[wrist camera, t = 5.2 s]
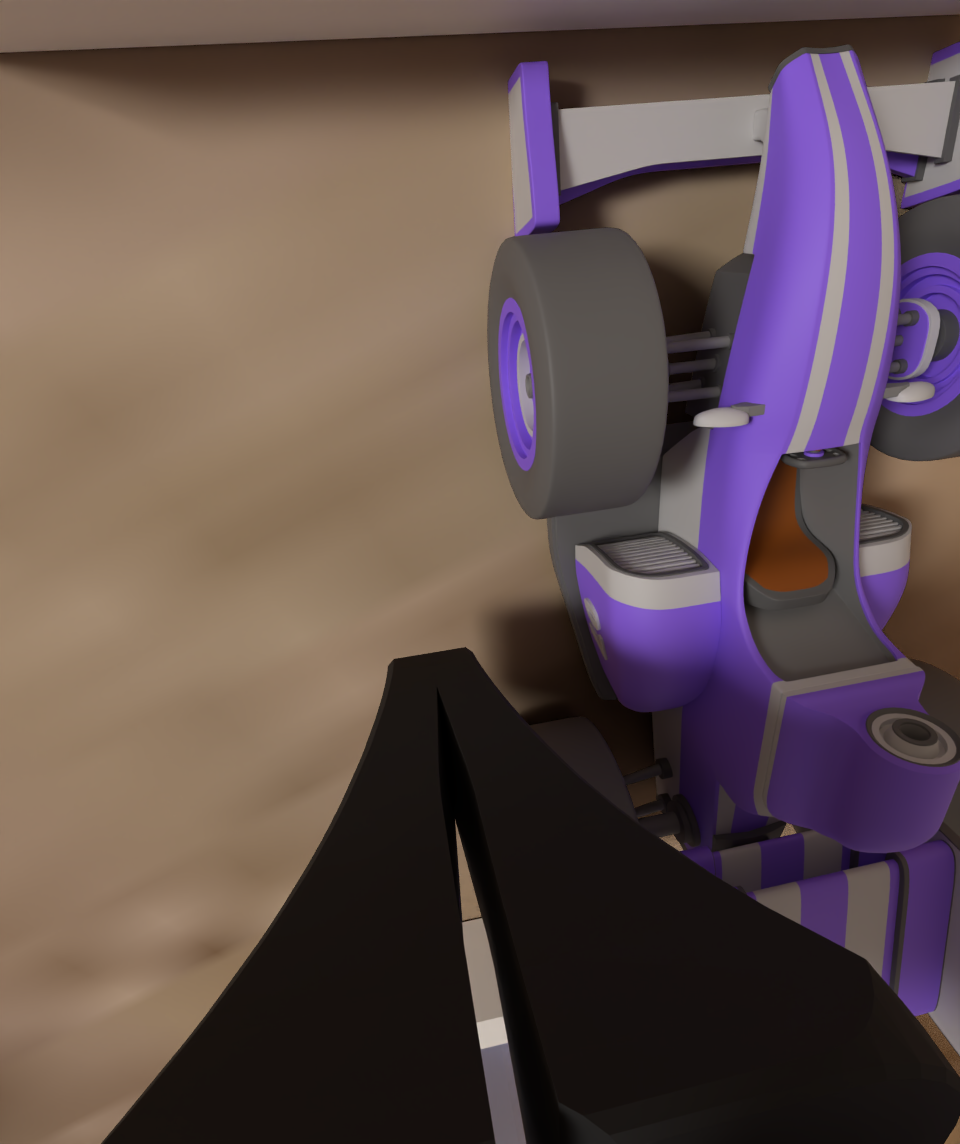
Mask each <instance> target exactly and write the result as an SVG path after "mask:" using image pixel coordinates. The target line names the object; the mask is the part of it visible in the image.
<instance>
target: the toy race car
mask: <svg viewBox="0 0 960 1144" xmlns="http://www.w3.org/2000/svg"><path fill="white" fill-rule="evenodd" d="M768 89H769V91H770V94H765V95H752V96H738V97H725V98H710V99H696V100H682V101H668V102H654V103H640V104H626V105H612V106H598V107H584V108H570V109H558V102H555V103H551V101H550V86H549V70H548V62H547V61H536V62H521V63H520V64H519V65H518V66H517V68H516V69H515V71H514V73H513V74H512V76H511V77H510V79H509V80H508V98H509V118H510V139H511V160H512V180H513V201H514V222H515V236H514V237H510V238H508V239H506V240H505V241H504V242H503V243H502V244H501V246H500V248H499V250H498V252H497V256H496V259H495V262H494V266H493V271H492V276H491V283H490V290H489V301H488V324H487V335H488V362H489V376H490V387H491V396H492V404H493V411H494V418H495V424H496V430H497V435H498V440H499V445H500V449H501V454H502V458H503V462H504V465H505V469H506V472H507V475H508V478H509V481H510V484H511V487H512V489H513V491H514V494H515V496H516V498H517V500H518V502H519V504H520V505H521V507H522V509H523V510H524V511H525V513H526V514H527V515H528V516H529V517H531V518H533V519H545V518H547V527H548V540H549V547H550V553H551V558H552V563H553V567H554V570H555V574H556V577H557V580H558V583H559V586H560V590H561V593H562V596H563V599H564V602H565V605H566V608H567V611H568V614H569V617H570V620H571V624H572V627H573V630H574V633H575V636H576V639H577V642H578V645H579V648H580V651H581V654H582V658H583V661H584V664H585V667H586V670H587V673H588V675H589V678H590V680H591V683H592V685H593V687H594V688H595V690H596V692H597V694H598V695H599V697H600V698H601V699H602V700H616V699H618V700H619V701H620V703H621V704H622V705H624V706H625V707H627V708H629V709H631V710H634V711H637V712H652V720H653V738H654V756H655V765H653V766H650V767H648V768H645V769H642V770H639V771H637V772H634V773H631V774H629V775H626V776H622V773H621V771H620V769H619V766H618V764H617V762H616V760H615V758H614V756H613V754H612V752H611V750H610V748H609V746H608V745H607V743H606V741H605V739H604V738H603V736H602V735H601V733H600V732H599V730H598V729H597V728H596V727H595V725H594V724H593V723H592V722H591V721H590V720H589V719H587V718H585V717H572V718H566V719H561V720H555V721H550V722H545V723H540V724H534V725H529V726H530V727H531V728H532V729H533V730H534V731H535V732H536V733H537V734H538V735H539V736H540V737H541V738H542V739H543V740H544V741H545V742H546V744H547V745H549V746H550V747H551V748H552V749H553V750H554V751H555V752H556V753H557V754H558V755H559V756H560V757H561V758H562V759H563V760H564V761H565V762H566V763H567V764H568V765H569V766H570V767H571V768H572V769H574V770H575V771H576V772H577V773H578V774H579V775H580V776H581V777H582V778H584V779H585V780H586V781H587V782H588V783H589V784H590V785H591V786H593V787H594V788H595V789H596V790H598V791H599V792H600V793H601V794H602V795H604V796H605V797H606V798H607V799H608V800H610V801H611V802H612V803H613V804H614V805H616V806H617V807H618V808H620V809H621V810H622V811H623V812H625V813H626V814H627V815H629V816H630V817H631V818H633V819H634V820H635V821H636V822H638V823H639V824H640V825H642V826H643V827H644V828H646V829H647V830H648V831H650V832H651V833H653V834H654V835H656V836H657V837H663V836H668V835H672V834H674V836H675V837H676V839H677V840H678V841H679V843H680V844H681V846H682V848H683V850H684V851H679V852H681V853H682V854H684V855H685V856H687V857H688V858H690V859H691V860H693V861H694V862H696V863H697V864H698V865H700V866H701V867H703V868H704V869H706V870H707V871H709V872H710V873H712V874H713V875H715V876H716V877H718V878H720V879H721V880H723V881H725V882H726V883H728V884H730V885H731V886H733V887H735V888H736V889H738V890H740V891H741V892H743V893H745V894H746V895H748V896H750V897H751V898H753V899H754V900H756V901H758V902H759V903H761V904H763V905H764V906H766V907H768V908H770V909H772V910H774V911H775V912H777V913H779V914H781V915H783V916H785V917H787V918H789V919H791V920H793V921H795V922H796V923H798V924H800V925H802V926H804V927H806V928H808V929H810V930H812V931H814V932H816V933H817V934H819V935H821V936H823V937H825V938H827V939H829V940H831V941H833V942H835V943H836V944H838V945H840V946H842V947H844V948H846V949H848V950H850V951H852V952H854V953H856V954H857V955H859V956H861V957H863V958H865V959H866V960H867V961H868V962H869V963H870V964H871V966H872V967H873V968H874V969H875V970H876V972H877V973H878V974H879V975H880V976H881V977H882V978H883V980H884V981H885V982H886V983H887V984H888V985H889V986H890V988H891V989H892V990H893V991H894V992H895V993H896V994H897V996H898V997H899V998H900V999H901V1000H902V1001H903V1002H904V1004H905V1005H906V1006H907V1007H908V1009H909V1010H910V1011H911V1012H912V1014H913V1015H914V1016H918V1015H922V1014H925V1013H928V1015H929V1016H930V1017H931V1019H932V1020H933V1021H934V1023H935V1024H936V1025H937V1027H938V1028H939V1029H940V1031H941V1032H942V1034H943V1035H944V1036H945V1038H946V1039H947V1040H948V1042H949V1043H950V1044H951V1046H952V1047H953V1048H954V1050H955V1051H956V1052H957V1054H958V1055H959V1056H960V681H959V680H957V679H956V678H954V677H953V676H951V675H950V674H948V673H946V672H945V671H943V670H941V669H939V668H937V667H935V666H933V665H930V664H927V663H925V662H922V661H919V660H914V659H909V658H907V657H905V656H904V655H903V654H902V653H901V652H900V651H899V650H898V649H897V648H896V647H895V646H894V645H893V644H892V642H891V641H890V640H889V639H888V638H887V637H886V636H885V634H884V633H883V632H882V629H883V628H884V626H885V625H886V623H887V622H888V620H889V619H890V617H891V615H892V614H893V612H894V610H895V608H896V607H897V605H898V603H899V601H900V599H901V596H902V594H903V591H904V589H905V586H906V582H907V578H908V573H909V563H910V548H911V532H912V524H911V522H910V521H909V520H908V519H907V518H905V517H903V516H900V515H898V514H895V513H892V512H890V511H887V510H884V509H881V508H878V507H874V506H870V505H866V504H861V501H862V490H863V482H864V474H865V468H866V462H867V456H868V451H869V447H870V445H871V446H873V447H874V448H876V449H877V450H879V451H881V452H883V453H885V454H887V455H889V456H892V457H895V458H898V459H902V460H909V461H932V460H939V459H946V458H953V457H959V456H960V41H959V42H957V43H955V44H953V45H950V46H948V47H946V48H943V49H941V50H939V51H937V52H934V53H933V56H932V61H931V66H930V70H929V75H928V80H927V82H925V83H921V84H907V85H893V86H879V87H867V86H866V83H865V79H864V76H863V72H862V69H861V65H860V62H859V59H858V57H857V55H856V53H855V51H854V49H853V48H852V46H851V45H843V46H838V47H831V48H809V47H803V48H801V49H799V50H798V51H796V52H794V53H793V54H791V55H790V56H788V57H787V58H786V59H784V60H783V61H782V62H781V63H780V64H779V66H778V67H777V69H776V71H775V73H774V75H773V77H772V80H771V82H770V84H769V86H768ZM752 163H761V164H760V170H759V176H758V181H757V187H756V192H755V197H754V202H753V207H752V212H751V217H750V222H749V226H748V231H747V236H746V240H745V245H744V250H743V252H744V253H742V254H740V255H738V256H737V257H735V258H734V259H732V260H731V261H729V262H728V263H726V264H725V265H724V266H722V267H721V268H720V269H718V270H717V271H716V274H715V277H714V281H713V285H712V289H711V292H710V296H709V300H708V304H707V308H706V312H705V317H704V321H703V326H702V331H701V332H697V333H690V334H682V335H675V336H668V337H666V333H665V326H664V319H663V314H662V309H661V304H660V299H659V295H658V292H657V288H656V285H655V281H654V278H653V275H652V273H651V270H650V267H649V265H648V263H647V261H646V258H645V256H644V254H643V252H642V251H641V249H640V248H639V246H638V245H637V243H636V242H635V241H634V240H633V239H632V238H631V237H630V236H629V235H628V234H627V233H626V232H624V231H622V230H620V229H617V228H595V229H585V230H574V231H564V232H553V231H554V230H555V229H556V228H557V226H558V225H559V223H560V209H559V205H561V204H563V203H565V202H568V201H570V200H572V199H574V198H577V197H579V196H581V195H583V194H586V193H588V192H590V191H592V190H595V189H597V188H599V187H602V186H604V185H606V184H609V183H611V182H613V181H616V180H619V179H622V178H625V177H628V176H632V175H636V174H641V173H648V172H658V171H669V170H681V169H693V168H705V167H717V166H729V165H741V164H752ZM891 173H893V174H896V175H899V176H902V180H901V182H906V185H905V189H904V194H903V199H902V204H901V209H904V208H913V209H911V210H909V211H908V212H906V213H905V214H903V215H902V216H900V217H899V218H898V213H897V205H896V198H895V191H894V186H893V180H892V175H891ZM914 207H915V208H914ZM551 232H553V233H551ZM687 351H697V355H696V360H695V361H687V362H678V363H669V361H668V353H678V352H687ZM689 372H693V374H692V379H691V381H685V382H678V383H671V384H669V376H670V375H672V374H681V373H689ZM678 401H687V403H686V408H685V413H687V414H689V415H691V416H693V417H694V421H691V422H683V423H676V424H668V425H666V421H667V410H668V402H678ZM655 776H656V791H657V794H656V799H657V800H656V801H653V802H650V803H648V804H645V805H642V806H639V807H637V808H634V806H633V802H632V799H631V797H630V794H629V791H628V789H627V786H626V785H628V784H632V783H635V782H638V781H642V780H645V779H648V778H652V777H655ZM657 811H662V813H663V814H658V815H654V816H649V817H644V818H639V819H638V817H641V816H644V815H647V814H651V813H654V812H657ZM786 823H789V824H792V825H793V827H794V829H795V831H796V833H797V834H792V835H788V836H783V837H780V836H781V834H782V832H783V830H784V827H785V825H786Z"/></svg>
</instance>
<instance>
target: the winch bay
mask: <svg viewBox="0 0 960 1144" xmlns="http://www.w3.org/2000/svg"><path fill="white" fill-rule="evenodd" d="M956 14H960V0H0V53H5V52H30V51H55V50H80V49H105V48H130V47H155V46H180V45H205V44H230V43H255V42H280V41H305V40H330V39H355V38H380V37H405V36H430V35H456V34H481V33H506V32H531V31H556V30H581V29H606V28H631V27H656V26H681V25H706V24H731V23H756V22H781V21H806V20H831V19H856V18H881V17H906V16H931V15H956ZM462 925H463V939H464V947H465V954H466V960H467V966H468V973H469V979H470V985H471V992H472V998H473V1004H474V1011H475V1017H476V1023H477V1029H478V1036H479V1042H480V1048H481V1049H484V1048H488V1047H492V1046H497V1045H501V1044H505V1043H508V1040H507V1034H506V1029H505V1024H504V1018H503V1013H502V1007H501V1002H500V996H499V991H498V985H497V980H496V975H495V969H494V964H493V960H492V956H491V951H490V947H489V943H488V938H487V934H486V930H485V927H484V923H483V919H482V918H480V919H475V920H471V921H466V922H462Z"/></svg>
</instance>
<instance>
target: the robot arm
mask: <svg viewBox="0 0 960 1144" xmlns="http://www.w3.org/2000/svg"><path fill="white" fill-rule="evenodd" d="M455 820H456V824H457V827H458V831H459V835H460V838H461V842H462V846H463V850H464V853H465V857H466V861H467V864H468V868H469V872H470V875H471V879H472V883H473V886H474V890H475V894H476V897H477V901H478V905H479V908H480V912H481V916H482V919H483V923H484V927H485V930H486V934H487V938H488V943H489V947H490V951H491V956H492V960H493V964H494V969H495V975H496V980H497V985H498V991H499V996H500V1002H501V1007H502V1013H503V1018H504V1024H505V1029H506V1034H507V1040H508V1043H505V1044H501V1045H497V1046H492V1047H488V1048H484V1049H481V1048H480V1042H479V1036H478V1029H477V1023H476V1017H475V1011H474V1004H473V998H472V992H471V985H470V979H469V973H468V966H467V960H466V954H465V947H464V939H463V925H462V911H461V897H460V883H459V869H458V855H457V841H456V827H455ZM959 1116H960V1077H959V1076H958V1074H957V1073H956V1071H955V1070H954V1069H953V1067H952V1066H951V1065H950V1063H949V1062H948V1060H947V1059H946V1058H945V1056H944V1055H943V1054H942V1052H941V1051H940V1049H939V1048H938V1047H937V1045H936V1044H935V1043H934V1041H933V1040H932V1038H931V1037H930V1036H929V1034H928V1033H927V1032H926V1030H925V1029H924V1027H923V1026H922V1025H921V1024H920V1022H919V1021H918V1020H917V1019H916V1017H915V1016H914V1015H913V1014H912V1012H911V1011H910V1010H909V1009H908V1007H907V1006H906V1005H905V1004H904V1002H903V1001H902V1000H901V999H900V998H899V997H898V996H897V994H896V993H895V992H894V991H893V990H892V989H891V988H890V986H889V985H888V984H887V983H886V982H885V981H884V980H883V978H882V977H881V976H880V975H879V974H878V973H877V972H876V970H875V969H874V968H873V967H872V966H871V964H870V963H869V962H868V961H867V960H866V959H865V958H863V957H861V956H859V955H857V954H856V953H854V952H852V951H850V950H848V949H846V948H844V947H842V946H840V945H838V944H836V943H835V942H833V941H831V940H829V939H827V938H825V937H823V936H821V935H819V934H817V933H816V932H814V931H812V930H810V929H808V928H806V927H804V926H802V925H800V924H798V923H796V922H795V921H793V920H791V919H789V918H787V917H785V916H783V915H781V914H779V913H777V912H775V911H774V910H772V909H770V908H768V907H766V906H764V905H763V904H761V903H759V902H758V901H756V900H754V899H753V898H751V897H750V896H748V895H746V894H745V893H743V892H741V891H740V890H738V889H736V888H735V887H733V886H731V885H730V884H728V883H726V882H725V881H723V880H721V879H720V878H718V877H716V876H715V875H713V874H712V873H710V872H709V871H707V870H706V869H704V868H703V867H701V866H700V865H698V864H697V863H696V862H694V861H693V860H691V859H690V858H688V857H687V856H685V855H684V854H682V853H681V852H679V851H678V850H676V849H675V848H673V847H672V846H670V845H669V844H667V843H666V842H664V841H663V840H661V839H660V838H659V837H657V836H656V835H654V834H653V833H651V832H650V831H648V830H647V829H646V828H644V827H643V826H642V825H640V824H639V823H638V822H636V821H635V820H634V819H633V818H631V817H630V816H629V815H627V814H626V813H625V812H623V811H622V810H621V809H620V808H618V807H617V806H616V805H614V804H613V803H612V802H611V801H610V800H608V799H607V798H606V797H605V796H604V795H602V794H601V793H600V792H599V791H598V790H596V789H595V788H594V787H593V786H591V785H590V784H589V783H588V782H587V781H586V780H585V779H584V778H582V777H581V776H580V775H579V774H578V773H577V772H576V771H575V770H574V769H572V768H571V767H570V766H569V765H568V764H567V763H566V762H565V761H564V760H563V759H562V758H561V757H560V756H559V755H558V754H557V753H556V752H555V751H554V750H553V749H552V748H551V747H550V746H549V745H547V744H546V742H545V741H544V740H543V739H542V738H541V737H540V736H539V735H538V734H537V733H536V732H535V731H534V730H533V729H532V728H531V727H530V726H529V724H528V723H527V722H526V721H525V720H524V719H523V718H522V717H521V716H520V714H519V713H518V712H517V711H516V710H515V709H514V708H513V707H512V705H511V704H510V703H509V702H508V701H507V699H506V698H505V697H504V696H503V695H502V693H501V692H500V691H499V690H498V688H497V687H496V686H495V684H494V683H493V682H492V681H491V679H490V678H489V676H488V675H487V674H486V672H485V671H484V669H483V668H482V667H481V665H480V664H479V662H478V660H477V659H476V657H475V655H474V654H473V652H472V651H470V650H469V649H467V648H466V647H464V648H458V649H452V650H446V651H440V652H434V653H428V654H422V655H416V656H410V657H404V658H398V659H394V660H393V661H392V662H391V663H390V664H389V666H388V672H387V678H386V683H385V688H384V692H383V696H382V699H381V703H380V706H379V709H378V713H377V716H376V719H375V722H374V725H373V727H372V730H371V733H370V736H369V738H368V741H367V744H366V747H365V749H364V752H363V754H362V757H361V759H360V762H359V764H358V766H357V769H356V771H355V773H354V775H353V777H352V780H351V782H350V784H349V786H348V789H347V791H346V793H345V795H344V798H343V800H342V802H341V804H340V806H339V808H338V810H337V812H336V814H335V816H334V818H333V820H332V822H331V824H330V826H329V828H328V830H327V832H326V834H325V835H324V837H323V839H322V841H321V843H320V844H319V846H318V848H317V850H316V852H315V853H314V855H313V857H312V859H311V861H310V862H309V864H308V866H307V868H306V869H305V871H304V872H303V874H302V876H301V877H300V879H299V881H298V882H297V884H296V885H295V887H294V889H293V890H292V892H291V894H290V895H289V897H288V898H287V900H286V902H285V903H284V905H283V907H282V908H281V910H280V911H279V913H278V914H277V916H276V917H275V919H274V920H273V922H272V923H271V925H270V926H269V928H268V930H267V931H266V932H265V934H264V935H263V937H262V938H261V940H260V941H259V943H258V944H257V946H256V947H255V948H254V950H253V951H252V952H251V954H250V955H249V957H248V958H247V959H246V961H245V962H244V963H243V965H242V966H241V968H240V969H239V970H238V972H237V973H236V974H235V976H234V977H233V979H232V980H231V981H230V983H229V984H228V986H227V987H226V988H225V990H224V991H223V992H222V994H221V995H220V997H219V998H218V999H217V1001H216V1002H215V1003H214V1005H213V1006H212V1008H211V1009H210V1010H209V1012H208V1013H207V1014H206V1016H205V1017H204V1018H203V1020H202V1021H201V1022H200V1023H199V1025H198V1026H197V1027H196V1029H195V1030H194V1031H193V1033H192V1034H191V1035H190V1036H189V1038H188V1039H187V1040H186V1041H185V1043H184V1044H183V1045H182V1046H181V1047H180V1049H179V1050H178V1051H177V1052H176V1054H175V1055H174V1056H173V1057H172V1058H171V1060H170V1061H169V1062H168V1063H167V1064H166V1066H165V1067H164V1068H163V1069H162V1071H161V1072H160V1073H159V1074H158V1075H157V1077H156V1078H155V1079H154V1080H153V1082H152V1083H151V1084H150V1085H149V1086H148V1088H147V1089H146V1090H145V1091H144V1092H143V1094H142V1095H141V1096H140V1097H139V1099H138V1100H137V1101H136V1102H135V1103H134V1105H133V1106H132V1107H131V1108H130V1110H129V1111H128V1112H127V1113H126V1114H125V1116H124V1117H123V1118H122V1119H121V1120H120V1122H119V1123H118V1124H117V1125H116V1126H115V1128H114V1129H113V1130H112V1131H111V1132H110V1134H109V1135H108V1136H107V1137H106V1138H105V1140H104V1141H103V1142H102V1143H101V1144H944V1143H945V1141H946V1139H947V1138H948V1136H949V1135H950V1133H951V1132H952V1130H953V1129H954V1127H955V1126H956V1124H957V1121H958V1119H959Z"/></svg>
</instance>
